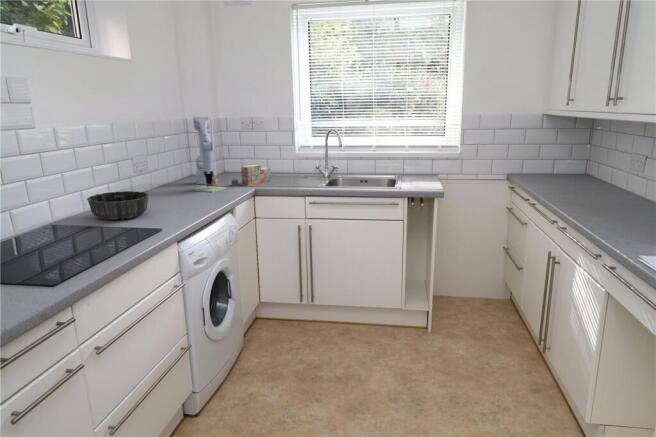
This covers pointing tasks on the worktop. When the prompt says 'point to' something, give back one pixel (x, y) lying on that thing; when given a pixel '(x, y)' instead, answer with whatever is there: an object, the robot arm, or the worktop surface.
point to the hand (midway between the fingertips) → (209, 183)
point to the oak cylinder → (215, 182)
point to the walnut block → (209, 184)
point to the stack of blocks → (254, 174)
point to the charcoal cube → (234, 182)
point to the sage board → (209, 189)
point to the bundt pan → (118, 204)
